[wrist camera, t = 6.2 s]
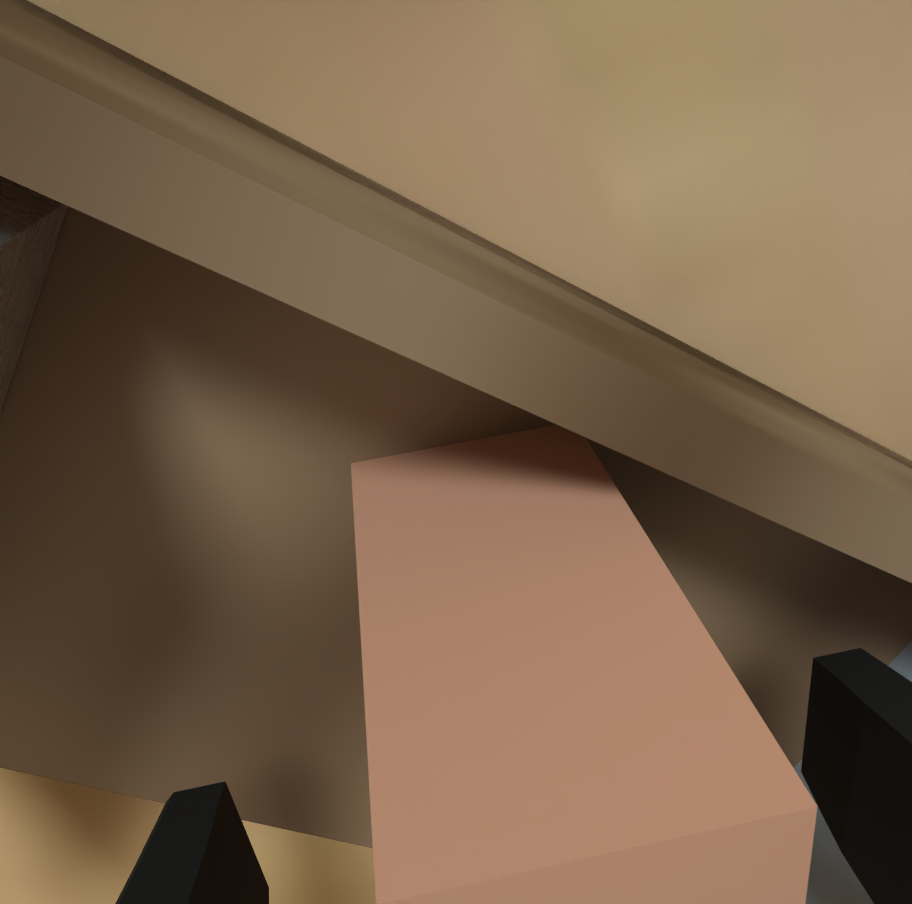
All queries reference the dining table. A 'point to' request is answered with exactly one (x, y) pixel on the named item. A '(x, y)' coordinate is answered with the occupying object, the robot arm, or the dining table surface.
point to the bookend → (22, 265)
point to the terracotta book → (552, 696)
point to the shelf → (337, 446)
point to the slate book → (830, 876)
